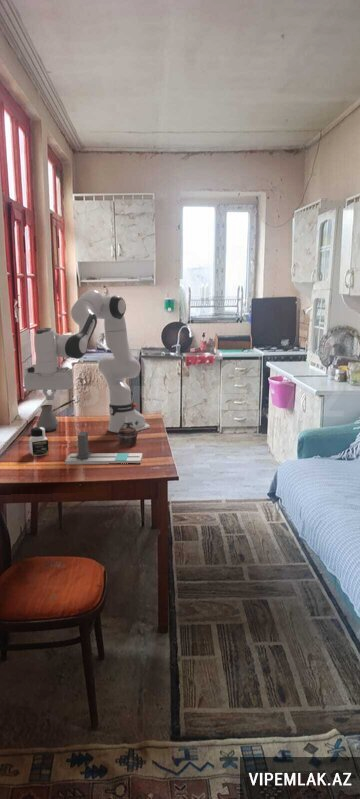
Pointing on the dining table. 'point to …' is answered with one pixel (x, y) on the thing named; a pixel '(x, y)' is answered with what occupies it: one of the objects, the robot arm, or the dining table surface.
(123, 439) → the cupcake
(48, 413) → the coffee pot
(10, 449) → the dining table surface
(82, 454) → the fader cap
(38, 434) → the medicine bottle
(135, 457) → the console track
